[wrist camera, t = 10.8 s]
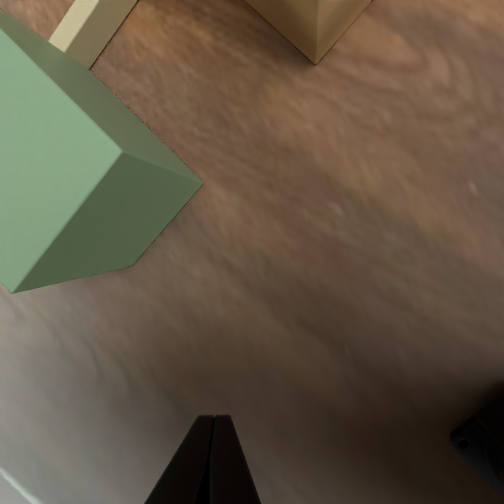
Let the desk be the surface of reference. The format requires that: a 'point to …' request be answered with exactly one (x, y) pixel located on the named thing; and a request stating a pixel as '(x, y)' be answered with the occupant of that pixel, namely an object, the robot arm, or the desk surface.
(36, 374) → the desk surface
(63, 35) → the straightedge
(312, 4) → the maple block
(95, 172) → the green block
